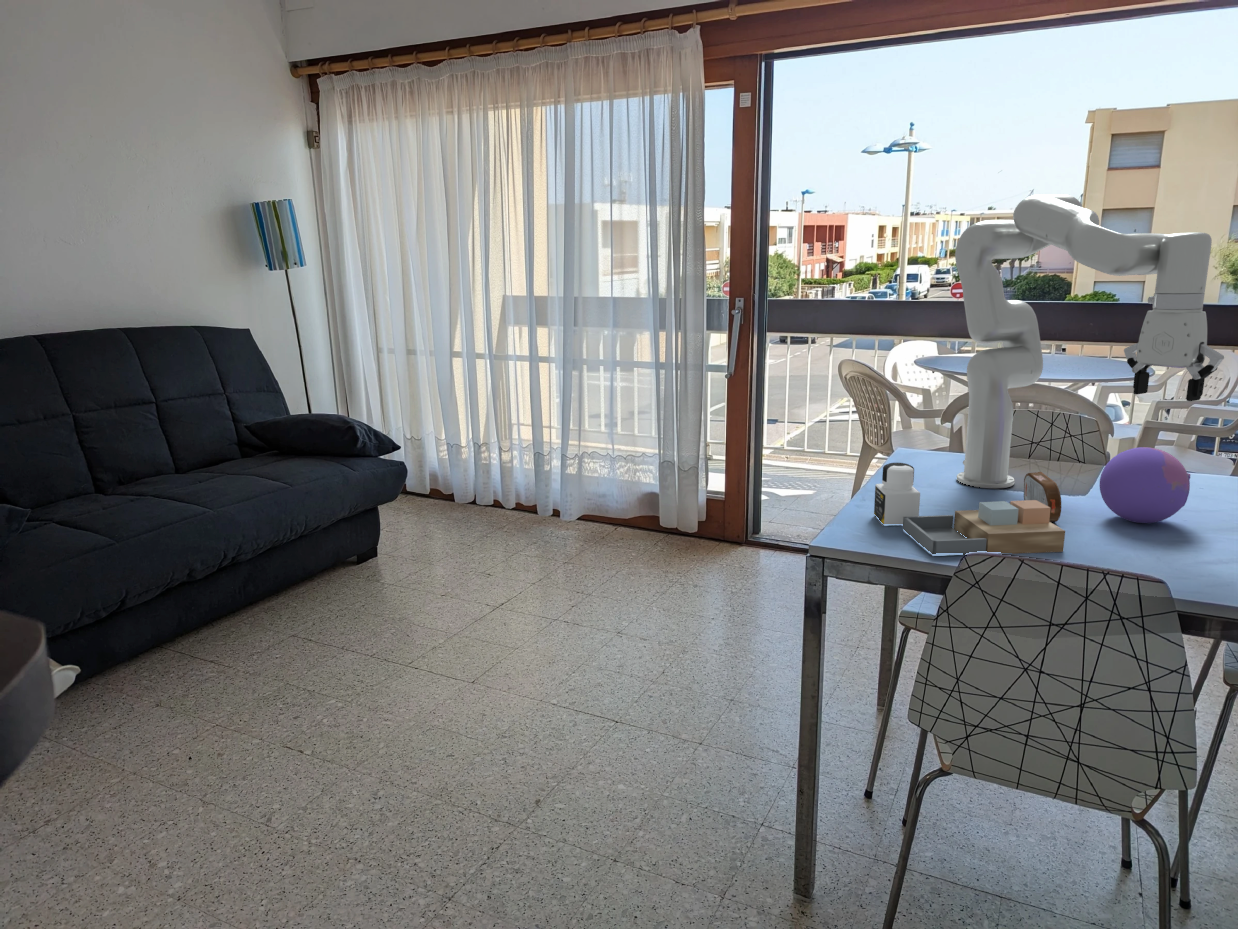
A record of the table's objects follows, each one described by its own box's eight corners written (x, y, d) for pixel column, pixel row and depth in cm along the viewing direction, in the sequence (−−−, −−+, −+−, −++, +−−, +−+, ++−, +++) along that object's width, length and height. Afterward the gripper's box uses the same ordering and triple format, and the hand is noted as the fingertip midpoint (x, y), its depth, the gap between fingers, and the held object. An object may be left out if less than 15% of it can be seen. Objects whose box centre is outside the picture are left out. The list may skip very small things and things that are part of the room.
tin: (1061, 527, 161) (1065, 486, 159) (1044, 527, 161) (1048, 486, 159) (1034, 505, 175) (1038, 467, 173) (1019, 505, 176) (1022, 467, 174)
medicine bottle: (873, 516, 171) (876, 460, 168) (907, 515, 171) (910, 460, 168) (882, 526, 164) (885, 469, 161) (918, 526, 164) (922, 468, 161)
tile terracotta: (1009, 516, 156) (1010, 501, 155) (1034, 515, 156) (1036, 500, 155) (1022, 524, 151) (1023, 508, 150) (1049, 523, 151) (1050, 507, 150)
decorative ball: (1196, 535, 154) (1208, 458, 150) (1107, 530, 158) (1116, 455, 154) (1168, 512, 168) (1178, 441, 164) (1086, 508, 172) (1094, 438, 168)
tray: (902, 531, 161) (903, 516, 160) (950, 529, 161) (952, 514, 161) (932, 557, 147) (933, 541, 146) (985, 554, 147) (986, 539, 147)
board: (953, 530, 161) (954, 510, 160) (1023, 527, 161) (1025, 508, 160) (986, 554, 147) (988, 533, 146) (1063, 551, 148) (1065, 530, 147)
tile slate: (978, 517, 156) (979, 502, 155) (1003, 516, 156) (1005, 501, 155) (990, 525, 151) (991, 509, 150) (1017, 524, 151) (1018, 508, 150)
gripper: (1118, 303, 154) (1108, 393, 158) (1216, 305, 138) (1202, 405, 142) (1144, 301, 157) (1133, 389, 161) (1242, 303, 141) (1228, 401, 145)
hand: (1165, 396), depth 151 cm, fingers open, 9 cm apart
